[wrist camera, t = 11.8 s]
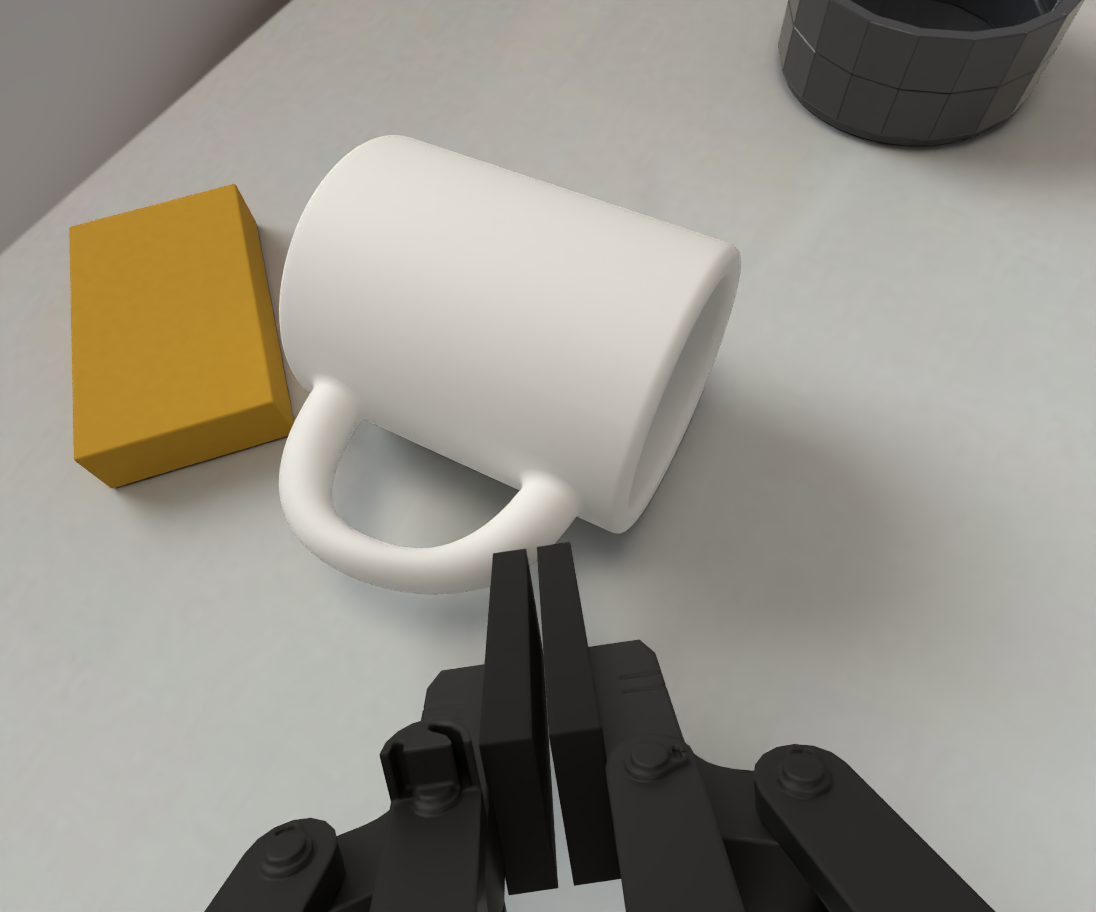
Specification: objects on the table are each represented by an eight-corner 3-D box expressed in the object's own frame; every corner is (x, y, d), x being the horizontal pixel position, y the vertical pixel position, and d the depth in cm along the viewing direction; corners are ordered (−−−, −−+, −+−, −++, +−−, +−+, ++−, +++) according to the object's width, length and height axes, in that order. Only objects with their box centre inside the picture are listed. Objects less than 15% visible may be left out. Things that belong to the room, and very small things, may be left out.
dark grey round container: (850, 179, 28) (892, 69, 24) (736, 27, 33) (756, -85, 29) (1081, 112, 29) (1157, -3, 25) (939, -25, 34) (985, -141, 30)
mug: (459, 272, 27) (412, 70, 20) (718, 369, 25) (767, 177, 18) (257, 550, 23) (104, 414, 15) (550, 706, 20) (526, 628, 13)
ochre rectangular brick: (111, 489, 24) (72, 460, 22) (100, 265, 28) (68, 226, 27) (296, 434, 24) (273, 401, 23) (256, 223, 29) (234, 182, 27)
